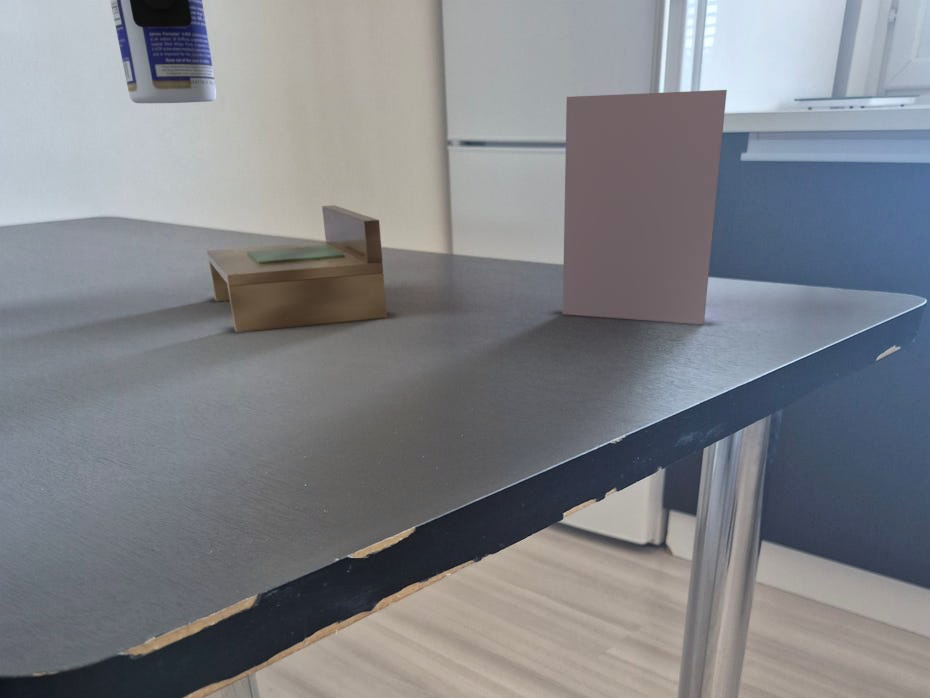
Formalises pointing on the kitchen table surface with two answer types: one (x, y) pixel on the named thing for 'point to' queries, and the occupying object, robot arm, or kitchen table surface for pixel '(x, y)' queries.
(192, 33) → the pill bottle
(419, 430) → the kitchen table surface
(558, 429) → the kitchen table surface
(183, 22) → the robot arm
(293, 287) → the shelf
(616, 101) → the greeting card
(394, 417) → the kitchen table surface
